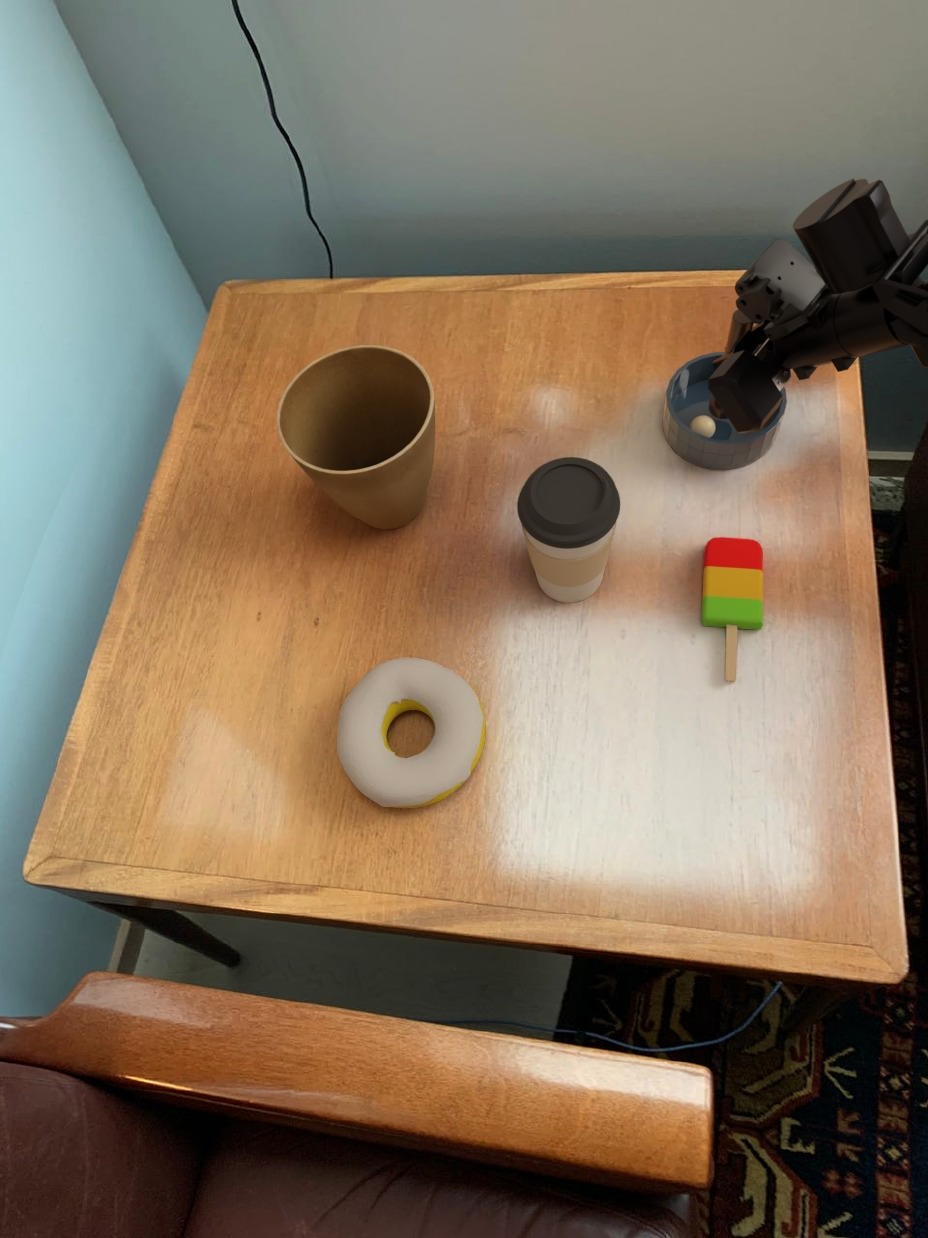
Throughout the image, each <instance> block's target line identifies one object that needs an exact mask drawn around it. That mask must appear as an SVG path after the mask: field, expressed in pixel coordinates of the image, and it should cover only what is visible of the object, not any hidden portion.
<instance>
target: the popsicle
mask: <svg viewBox="0 0 928 1238" xmlns="http://www.w3.org/2000/svg"><path fill="white" fill-rule="evenodd" d="M702 570H703V571H702V576H703V577H702V597H701V598H702V602H701V624H702V625H703V626H706V627H717V628H725V670H724V671H725V672H724V673H725V674H724V677H725V681H726V682H729V683H734V682H736V680H737V677H738V675H737V674H738V672H737V669H738V629H743V630H744V629H745V630H746V629H747V630H755V631H756V630H757V631H761V630H762V629H763V626H764V552H763V547H762V544H761V543H759V541H757V540H755V539H751V538H739V537H726V536H725V537H723V536H719V537H718V536H717V537H713V538H711V539H709V540H707V543H706V544H705V546H704V551H703V569H702Z"/></svg>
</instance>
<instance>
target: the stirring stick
mask: <svg viewBox="0 0 928 1238" xmlns="http://www.w3.org/2000/svg"><path fill="white" fill-rule="evenodd" d="M754 324H755V323H753V322H752V321H751V320H749V319H748V318H747V317H746V316H745V315H744V314H743V313H742V312H741V311H740V310H739V309H738V308H737V309H736V310H734V312H733V313H732V316H731V321H730V326H729V330H728V336H727V340H726V345H725V347H726V349H725V348H724V352H725V354H724V355H726V354H728V353H730V352H732V351H733V348H734V346H735V345H736V344H737V343H738V342H739V340H740V339H741V338H742V337H743V336H744V335H745V333H746V332H747V331H748V330H750V331H751V332H752V328H753V327H754ZM709 411H710V413H711V414H712V415H713V416H714V417H716V418H719V419H728V417H727V416H726V414H725V413H724V411H723V410H722V408H721V407H720V405H719V404H718V402H717V401H716V399H715V398H714V396H713V395H712V396H711V398H710V402H709Z"/></svg>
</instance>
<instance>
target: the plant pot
mask: <svg viewBox="0 0 928 1238" xmlns="http://www.w3.org/2000/svg"><path fill="white" fill-rule="evenodd" d="M276 429H277V433H278V434H277V435H278V437H279V439H280V442H281V444H282V445H283V447H284V449H285V450H286V451H287V452H288V454H289V455H290V456H291V457H292V459H293V461H295V462H296V464H297V465H298V466H299V467H300V468H301V469H302V471H303V472H304V473H305V474H306V475H307V476H308V478H309V479H310V480H311V481H312V482H313V483H314V484H315V485H316V486H317V487H318V488H319V489H320V490H321V491H322V493H324V494H325V495H326V496H327V497H329V498H330V499H331V500H332V501H333V502H334V503H335V504H337V505H338V506H339V507H340V508H342V509H343V510H345V511H346V512H347V513H348V514H350V515H351V516H353V517H355V518H356V519H358V520H359V521H361V522H363V523H365V524H366V525H368V526H370V527H372V528H374V529H378V530H385V531H386V530H395V529H398V528H399V529H400V528H402V527H404V526H406V525H408V524H409V523H412V522H413V521H414V520H415V518H417V516H418V515H419V513H420V512H421V510H422V508H423V505H424V503H425V499H426V496H427V493H428V491H429V486H430V482H431V478H432V472H433V466H434V457H435V448H436V405H435V392H434V386H433V384H432V380H431V379H430V376H429V374H428V373H427V371H426V369H425V368H424V367H423V365H422V364H421V363H420V362H419V361H417V360H416V359H415V358H414V357H412V356H411V355H409V354H407V353H405V352H403V351H401V350H399V349H396V348H394V347H390V346H386V345H385V346H384V345H379V344H359V345H351V346H347V347H346V346H345V347H343V348H339V349H334V350H333V351H330V352H327V353H325V354H324V355H322V356H319V357H318V358H316V359H315V360H313V361H311V362H310V363H309V364H307V365H306V366H305V367H304V368H302V369H301V370H300V371H299V372H298V373H297V374H296V375H295V376H294V377H293V379H291V381H290V382H289V384H288V385H287V386H286V388H285V390H284V391H283V393H282V395H281V397H280V399H279V403H278V405H277V409H276Z"/></svg>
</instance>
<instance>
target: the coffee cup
mask: <svg viewBox="0 0 928 1238" xmlns="http://www.w3.org/2000/svg"><path fill="white" fill-rule="evenodd" d="M516 510H517V517H518V519H519V521H520V523H521V530H522V534H523V537H524V541H525V544H526V548H527V552H528V554H529V559H530V562H531V565H532V567H533V569H534V572H535V576H536V580H537V583H538V585H539V587H540V589H541V591H542V592H543V593H545V595H547V596H548V597H549V598H550V599H553V600H554V601H557V602H560V603H569V604H571V603H572V604H573V603H578V602H582V601H584V600H586V599H588V598H590V597H591V596H592V595H594V594H595V593H596V592H597V590H598V589H599V588H600V587H601V584H602V582H603V578H604V575H605V570H606V569H605V568H606V565H607V564H608V560H609V556H610V553H611V552H610V551H611V549H612V548H611V547H612V545H613V540H614V536H615V531H616V527H617V521H618V518H619V515H620V512H621V497H620V493H619V489H618V488H617V486H616V483H615V481H614V479H613V477H612V476H611V474H610V473H609V472H608V471H607V470H606V469H605V468H604V467H603V466H601V465H600V464H598V463H596V462H594V461H592V460H589V459H586V458H583V457H575V456H566V457H560V458H556V459H552V460H549V461H548V462H545V463H543V464H542V465H540V466H539V467H537V468H536V469H534V471H533V472H532V473H531V474H530V475H529V476H528V477H527V479H526V481H525V482H524V484H523V486H522V487H521V489H520V491H519V494H518V497H517V502H516Z"/></svg>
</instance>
